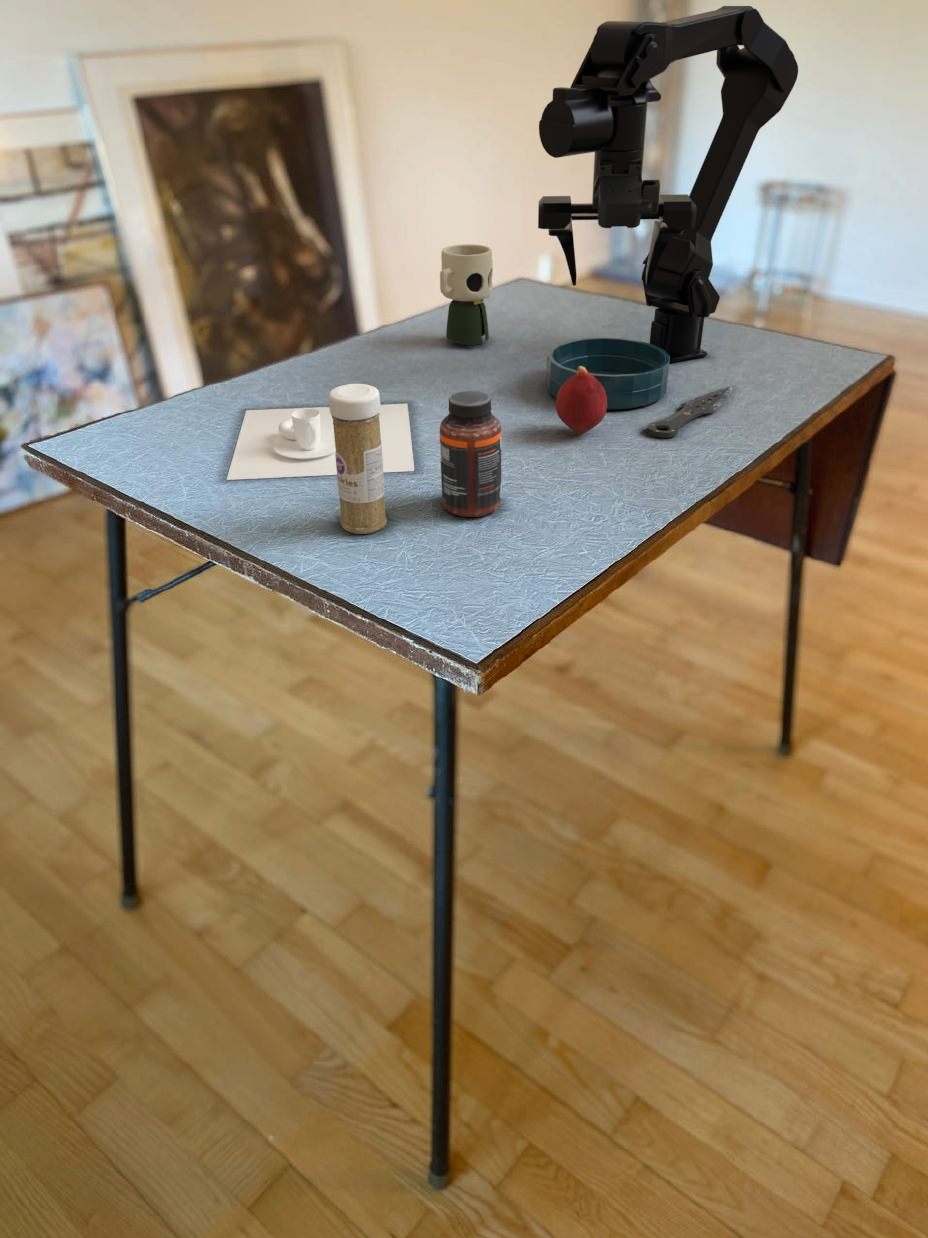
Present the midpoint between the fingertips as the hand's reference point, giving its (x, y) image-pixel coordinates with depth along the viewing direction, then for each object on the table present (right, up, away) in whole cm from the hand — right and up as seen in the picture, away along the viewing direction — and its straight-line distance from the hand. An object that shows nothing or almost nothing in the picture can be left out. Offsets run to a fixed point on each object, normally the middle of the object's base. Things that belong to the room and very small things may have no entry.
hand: (610, 284), depth 118 cm
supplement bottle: (-18, -31, -25) cm, 44 cm away
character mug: (-18, -2, +19) cm, 26 cm away
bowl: (0, -13, +2) cm, 13 cm away
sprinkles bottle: (-28, -33, -28) cm, 52 cm away
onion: (-5, -21, -10) cm, 24 cm away
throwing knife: (+10, -17, -5) cm, 20 cm away
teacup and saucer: (-35, -22, -10) cm, 42 cm away
